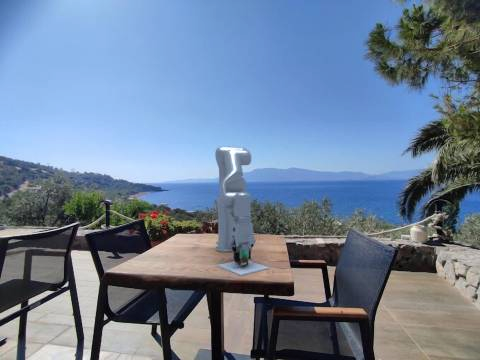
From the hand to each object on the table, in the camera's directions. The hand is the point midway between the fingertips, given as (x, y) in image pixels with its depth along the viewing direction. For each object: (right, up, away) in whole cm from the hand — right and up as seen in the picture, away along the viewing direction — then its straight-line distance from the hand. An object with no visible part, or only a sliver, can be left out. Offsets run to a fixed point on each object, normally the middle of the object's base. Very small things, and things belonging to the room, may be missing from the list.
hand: (242, 259), depth 128 cm
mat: (0, -4, 0) cm, 4 cm away
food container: (0, -2, +1) cm, 2 cm away
